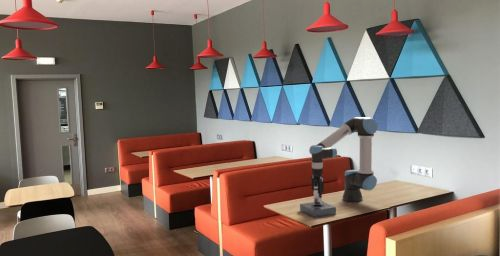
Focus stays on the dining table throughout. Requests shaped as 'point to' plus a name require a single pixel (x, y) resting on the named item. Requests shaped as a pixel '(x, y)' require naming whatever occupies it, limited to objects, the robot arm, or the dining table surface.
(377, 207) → the dining table surface
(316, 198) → the silver metal cylinder
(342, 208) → the dining table surface
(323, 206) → the flange plate
